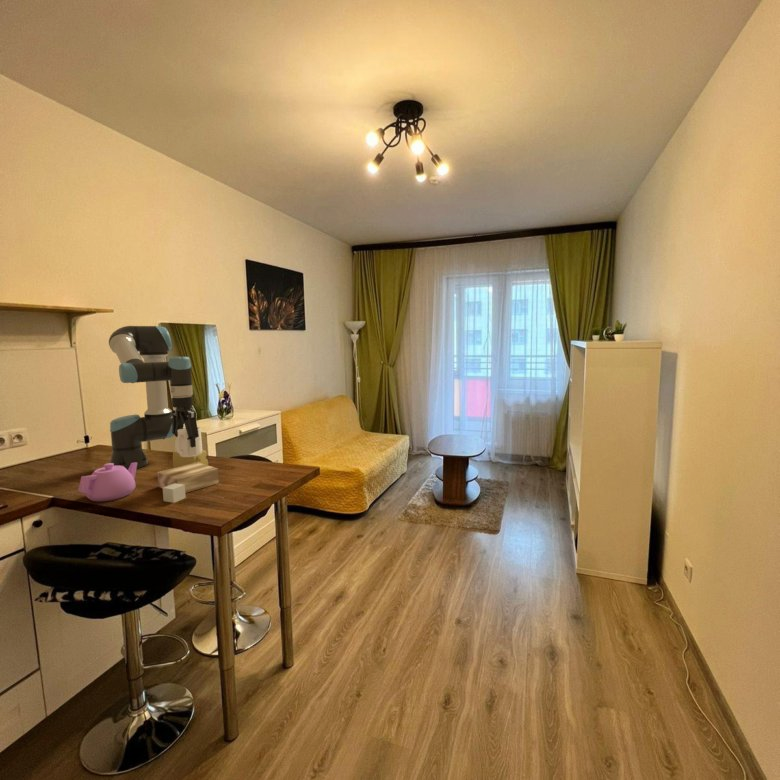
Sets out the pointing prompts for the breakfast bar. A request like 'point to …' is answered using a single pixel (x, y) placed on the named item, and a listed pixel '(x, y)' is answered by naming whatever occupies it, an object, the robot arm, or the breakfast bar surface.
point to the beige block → (174, 492)
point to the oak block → (189, 476)
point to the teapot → (109, 482)
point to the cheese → (189, 459)
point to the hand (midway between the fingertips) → (186, 453)
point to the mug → (182, 443)
